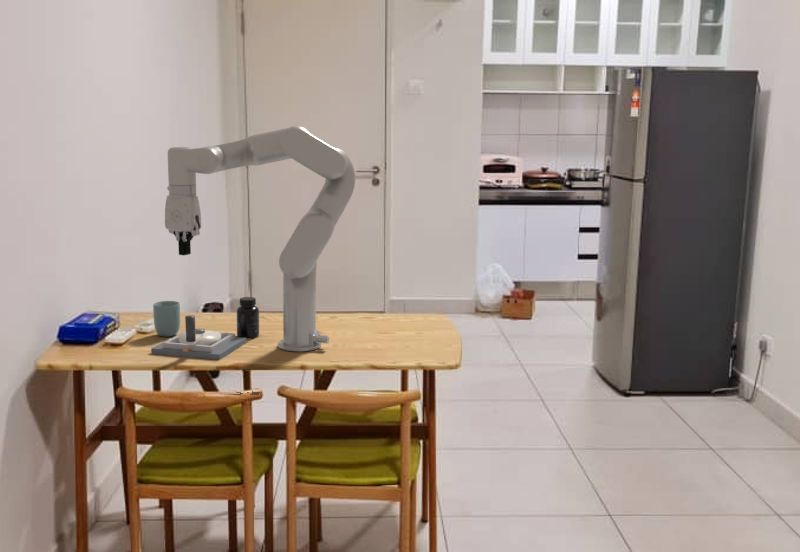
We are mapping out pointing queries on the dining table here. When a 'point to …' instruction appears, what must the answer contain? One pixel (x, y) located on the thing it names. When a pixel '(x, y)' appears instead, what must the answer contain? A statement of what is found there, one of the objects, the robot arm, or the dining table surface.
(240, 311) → the supplement bottle
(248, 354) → the dining table surface
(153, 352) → the board
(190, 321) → the dial
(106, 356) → the dining table surface
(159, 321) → the cup
